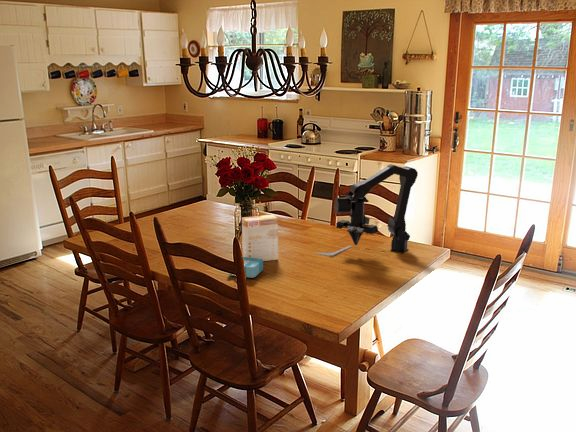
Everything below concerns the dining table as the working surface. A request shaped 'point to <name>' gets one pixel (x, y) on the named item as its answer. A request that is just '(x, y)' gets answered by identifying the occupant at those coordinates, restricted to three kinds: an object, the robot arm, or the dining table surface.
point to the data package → (252, 266)
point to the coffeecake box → (260, 237)
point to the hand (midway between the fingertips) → (356, 244)
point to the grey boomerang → (334, 252)
